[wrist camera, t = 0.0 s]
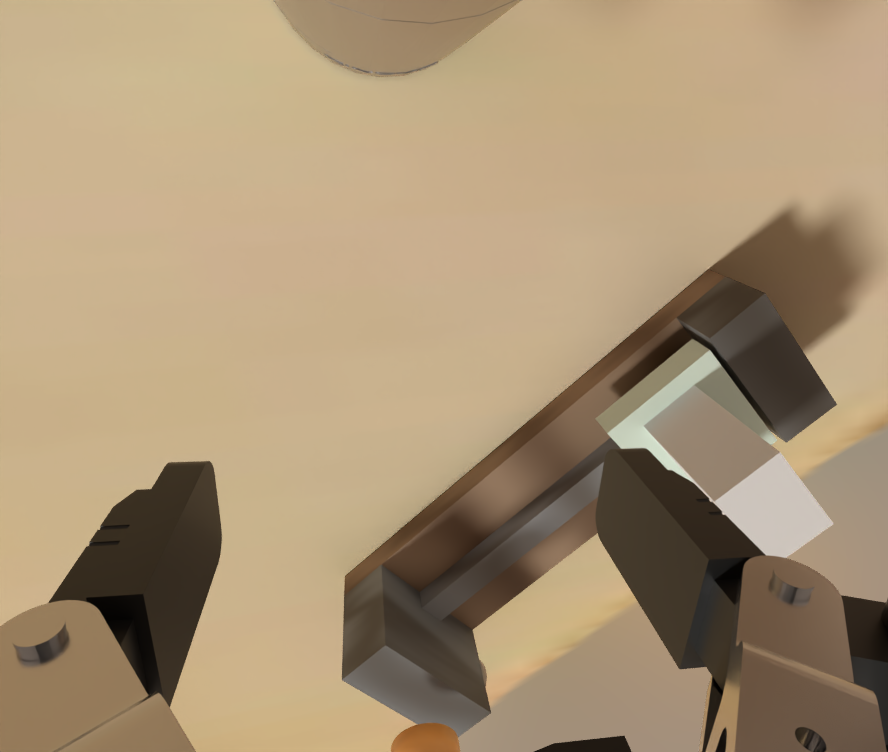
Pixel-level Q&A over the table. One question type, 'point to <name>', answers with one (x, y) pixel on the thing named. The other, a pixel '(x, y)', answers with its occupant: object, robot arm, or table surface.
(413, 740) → the gauge button
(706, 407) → the carriage
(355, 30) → the robot arm
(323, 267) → the table surface
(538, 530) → the rail
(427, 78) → the table surface
